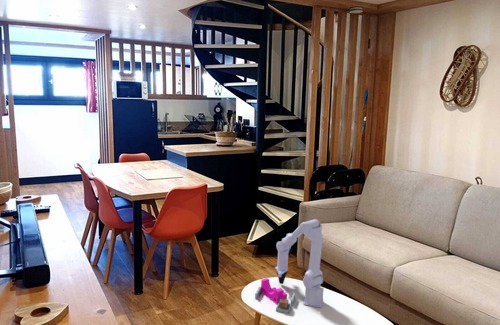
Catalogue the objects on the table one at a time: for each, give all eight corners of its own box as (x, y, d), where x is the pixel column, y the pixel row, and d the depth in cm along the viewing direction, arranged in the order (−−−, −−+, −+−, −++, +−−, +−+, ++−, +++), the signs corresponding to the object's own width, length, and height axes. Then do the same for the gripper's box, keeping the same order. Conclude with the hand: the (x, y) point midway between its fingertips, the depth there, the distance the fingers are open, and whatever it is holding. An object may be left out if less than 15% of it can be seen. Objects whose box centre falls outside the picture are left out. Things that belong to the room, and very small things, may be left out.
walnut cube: (288, 306, 202) (288, 299, 201) (286, 310, 198) (286, 303, 197) (280, 305, 203) (280, 298, 202) (278, 309, 199) (279, 302, 198)
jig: (294, 298, 211) (295, 293, 210) (289, 313, 196) (289, 308, 196) (259, 291, 216) (259, 286, 216) (251, 306, 202) (251, 300, 201)
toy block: (286, 302, 207) (287, 288, 206) (277, 305, 204) (277, 291, 202) (269, 289, 219) (270, 277, 218) (260, 292, 216) (261, 279, 215)
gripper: (278, 255, 230) (277, 276, 232) (272, 265, 216) (271, 288, 219) (290, 256, 228) (289, 278, 230) (285, 267, 214) (284, 290, 217)
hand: (281, 283), depth 224 cm, fingers closed
